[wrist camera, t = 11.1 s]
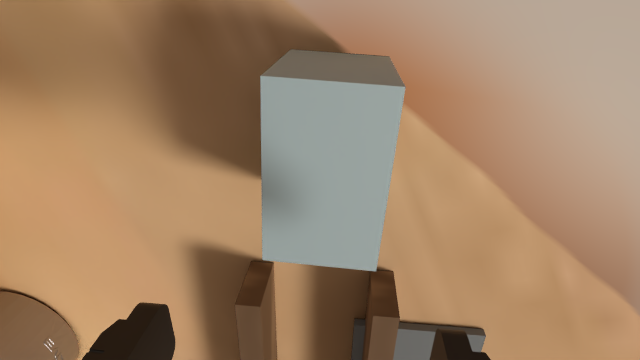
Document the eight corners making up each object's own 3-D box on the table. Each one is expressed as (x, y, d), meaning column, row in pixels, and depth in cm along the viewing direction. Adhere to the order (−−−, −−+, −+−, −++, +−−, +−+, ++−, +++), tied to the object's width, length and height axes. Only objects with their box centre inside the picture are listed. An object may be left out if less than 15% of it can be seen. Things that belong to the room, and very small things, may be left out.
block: (287, 187, 23) (262, 260, 17) (291, 49, 19) (260, 75, 13) (370, 194, 23) (376, 271, 16) (388, 56, 19) (405, 86, 13)
